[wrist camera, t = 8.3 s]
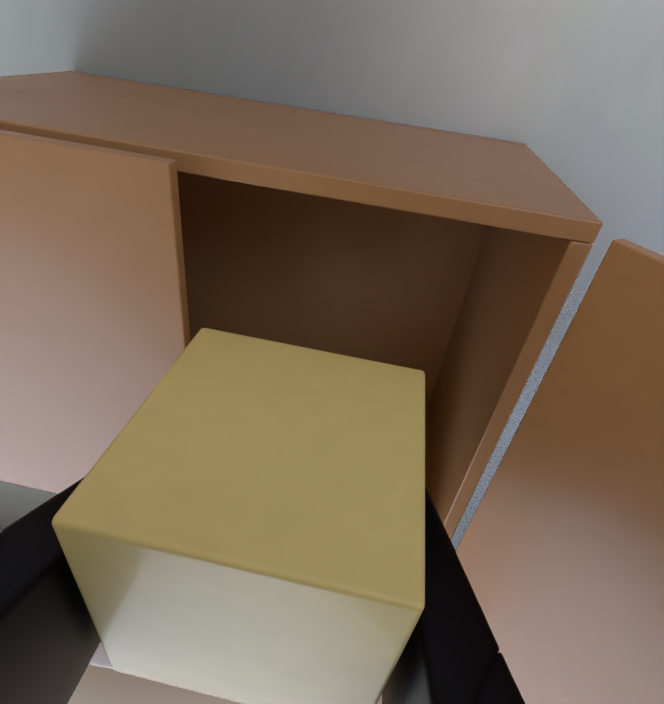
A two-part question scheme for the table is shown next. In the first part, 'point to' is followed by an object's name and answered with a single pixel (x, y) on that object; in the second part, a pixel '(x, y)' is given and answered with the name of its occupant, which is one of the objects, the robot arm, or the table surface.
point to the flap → (584, 505)
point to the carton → (263, 260)
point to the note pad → (258, 525)
